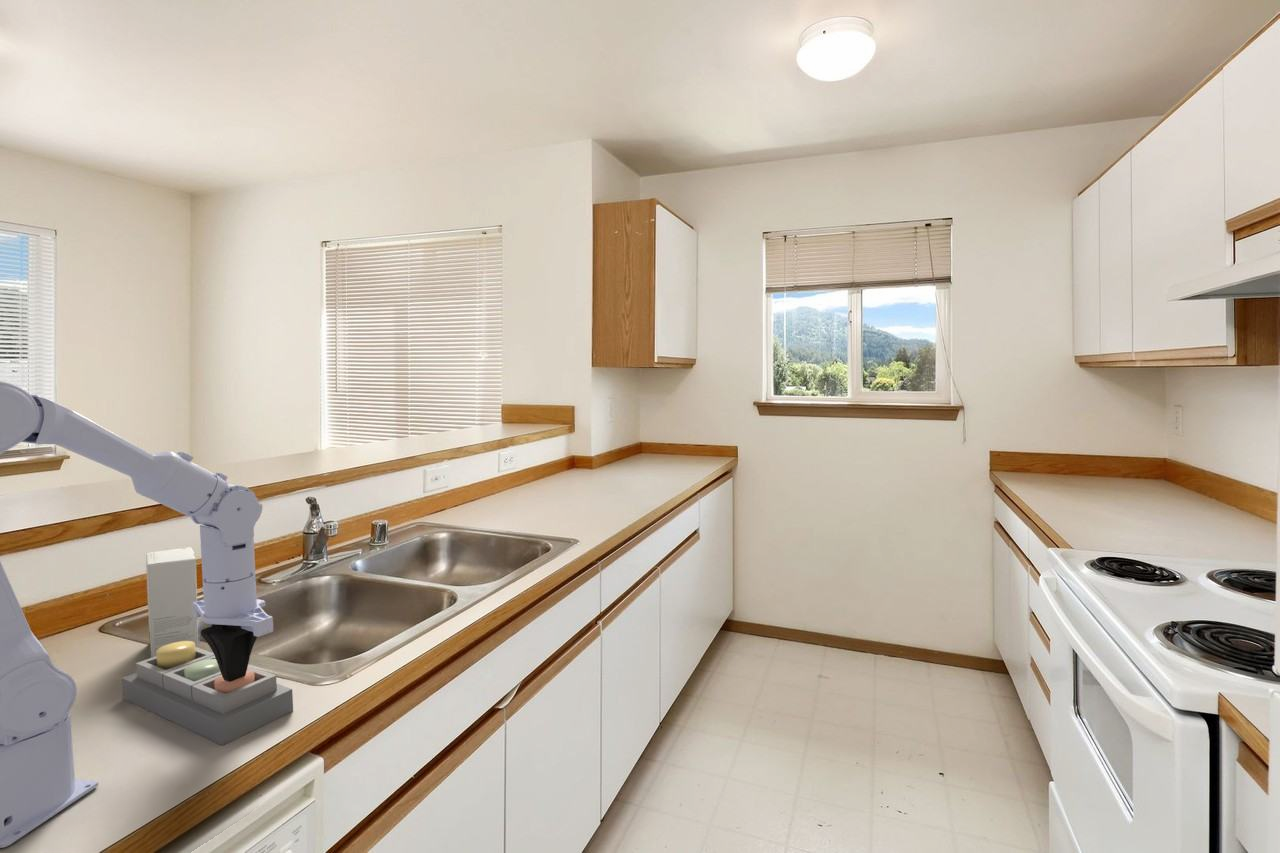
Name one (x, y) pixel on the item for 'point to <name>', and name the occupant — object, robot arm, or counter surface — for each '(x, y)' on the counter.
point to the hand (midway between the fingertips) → (234, 678)
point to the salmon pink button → (233, 683)
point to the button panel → (207, 699)
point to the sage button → (201, 669)
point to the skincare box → (171, 597)
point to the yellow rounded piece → (175, 654)
